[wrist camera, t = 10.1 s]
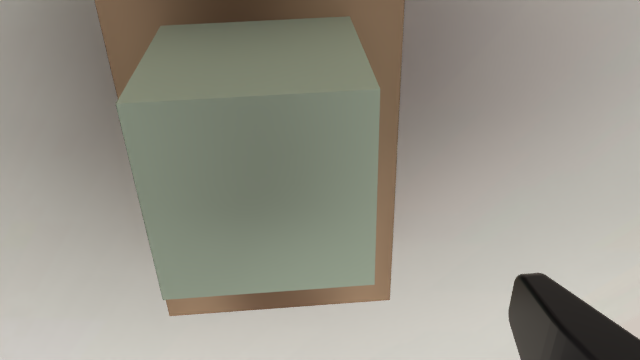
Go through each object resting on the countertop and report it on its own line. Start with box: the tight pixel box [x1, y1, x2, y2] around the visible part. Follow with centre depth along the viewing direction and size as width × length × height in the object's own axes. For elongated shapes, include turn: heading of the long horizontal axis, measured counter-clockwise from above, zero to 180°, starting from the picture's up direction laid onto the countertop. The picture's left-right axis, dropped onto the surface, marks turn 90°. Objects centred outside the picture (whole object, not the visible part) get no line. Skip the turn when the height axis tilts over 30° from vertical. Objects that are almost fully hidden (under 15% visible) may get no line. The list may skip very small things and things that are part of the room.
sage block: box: [116, 16, 380, 300], centre depth 14 cm, size 5×5×5 cm
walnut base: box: [95, 0, 405, 316], centre depth 17 cm, size 8×16×3 cm, turn 2°
